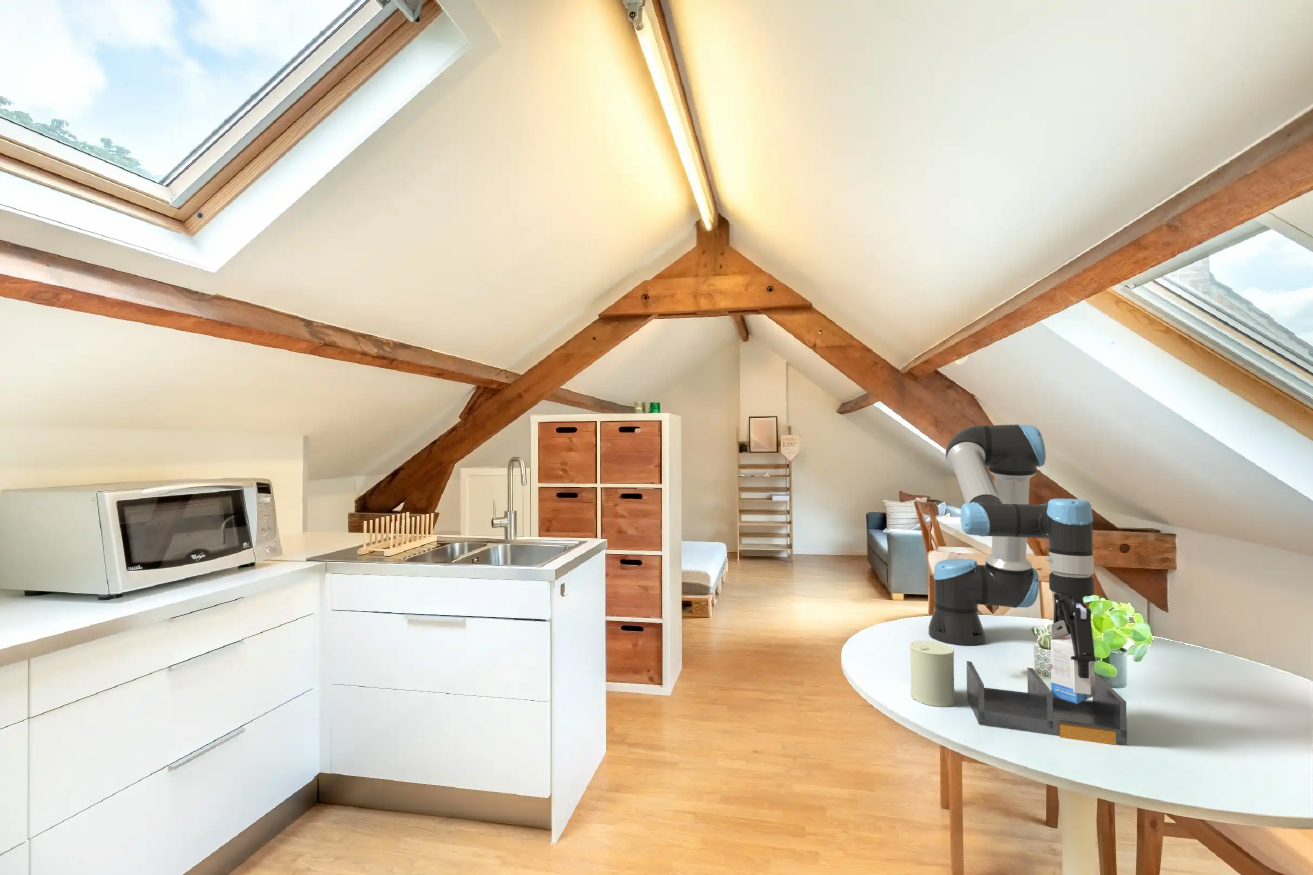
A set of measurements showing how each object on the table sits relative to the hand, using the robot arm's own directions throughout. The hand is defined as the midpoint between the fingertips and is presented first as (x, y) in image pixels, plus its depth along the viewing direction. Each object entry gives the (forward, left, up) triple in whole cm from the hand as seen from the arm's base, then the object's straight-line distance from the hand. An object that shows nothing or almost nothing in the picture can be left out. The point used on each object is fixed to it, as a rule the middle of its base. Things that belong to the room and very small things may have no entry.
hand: (1073, 683), depth 119 cm
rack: (0, -6, -8) cm, 10 cm away
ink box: (0, 0, -3) cm, 3 cm away
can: (-4, -26, -8) cm, 28 cm away
